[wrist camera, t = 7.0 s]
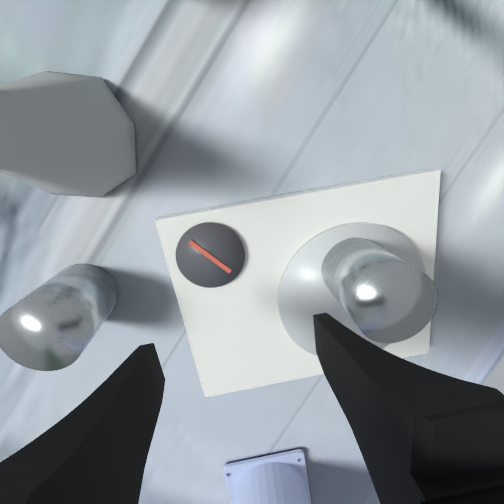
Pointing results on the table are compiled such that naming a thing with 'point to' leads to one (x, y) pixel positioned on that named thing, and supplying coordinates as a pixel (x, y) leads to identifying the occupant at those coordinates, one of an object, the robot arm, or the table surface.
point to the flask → (65, 134)
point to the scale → (287, 272)
